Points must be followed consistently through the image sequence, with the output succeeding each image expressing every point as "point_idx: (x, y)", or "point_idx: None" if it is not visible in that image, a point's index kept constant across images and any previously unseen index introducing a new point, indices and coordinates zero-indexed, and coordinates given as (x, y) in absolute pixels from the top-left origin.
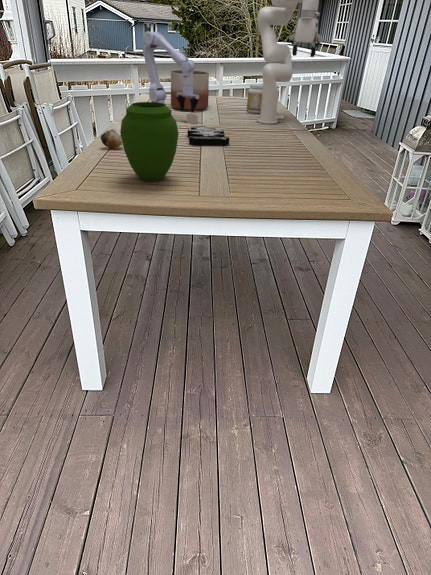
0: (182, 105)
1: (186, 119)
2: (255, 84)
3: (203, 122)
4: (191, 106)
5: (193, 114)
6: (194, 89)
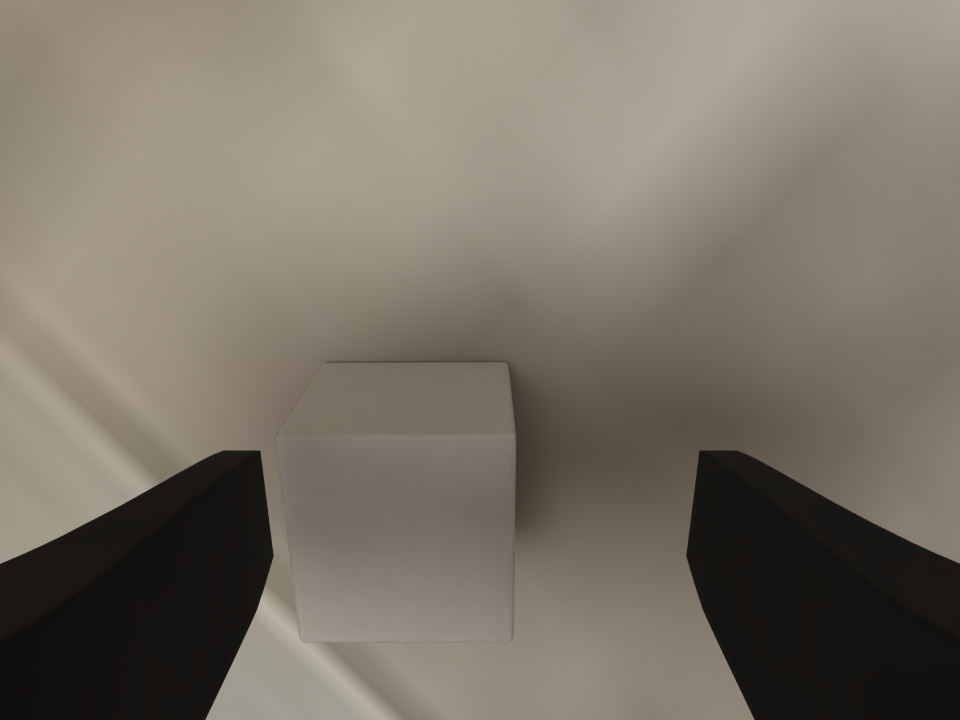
0: (769, 609)
1: (504, 384)
2: None
3: (269, 610)
4: (122, 533)
5: (413, 607)
6: None
